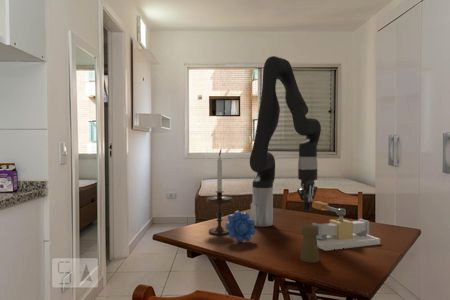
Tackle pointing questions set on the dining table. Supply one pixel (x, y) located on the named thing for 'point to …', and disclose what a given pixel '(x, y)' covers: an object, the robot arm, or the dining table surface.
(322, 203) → the lever
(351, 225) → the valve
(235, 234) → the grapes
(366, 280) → the dining table surface
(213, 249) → the dining table surface
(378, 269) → the dining table surface
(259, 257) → the dining table surface
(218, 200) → the candlestick
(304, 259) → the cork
